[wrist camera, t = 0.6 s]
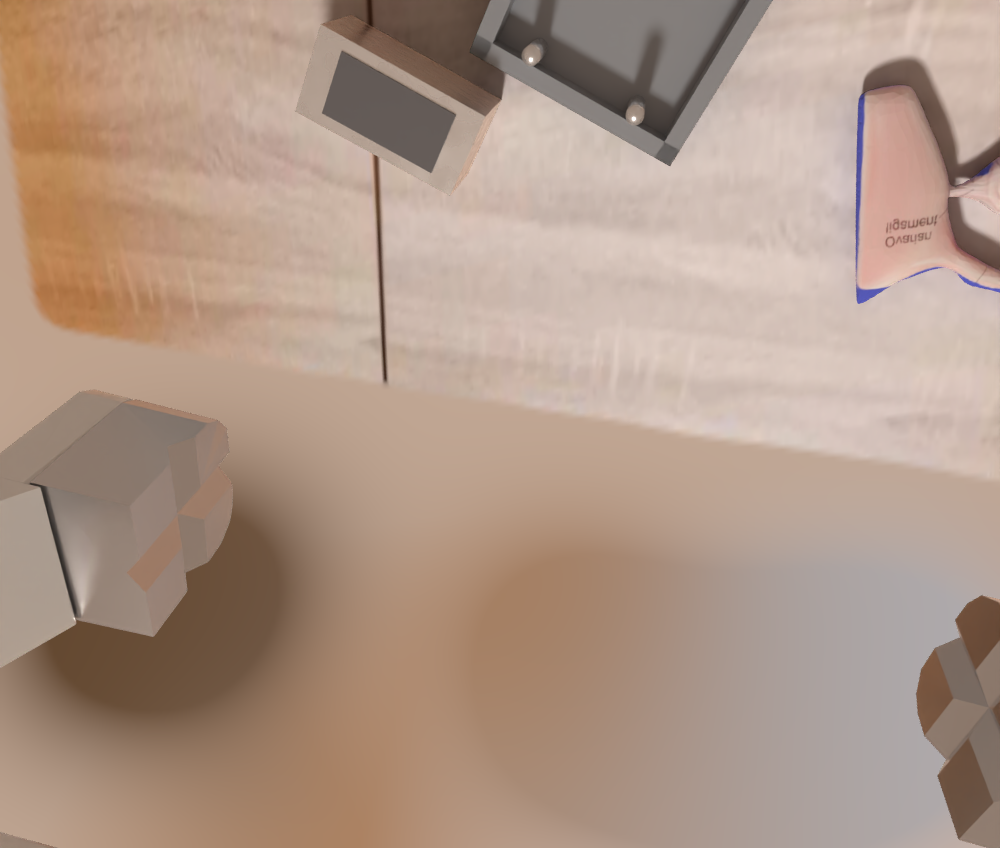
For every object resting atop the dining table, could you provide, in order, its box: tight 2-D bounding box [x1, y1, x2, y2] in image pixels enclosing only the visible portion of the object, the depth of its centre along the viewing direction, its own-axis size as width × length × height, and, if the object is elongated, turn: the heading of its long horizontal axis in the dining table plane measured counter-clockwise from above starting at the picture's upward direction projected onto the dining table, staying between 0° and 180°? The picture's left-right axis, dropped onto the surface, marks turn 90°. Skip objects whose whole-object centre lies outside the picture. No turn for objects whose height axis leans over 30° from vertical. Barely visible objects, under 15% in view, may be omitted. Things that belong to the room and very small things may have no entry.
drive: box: [296, 15, 501, 196], centre depth 44 cm, size 5×10×5 cm, turn 65°
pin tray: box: [469, 0, 773, 166], centre depth 40 cm, size 11×13×4 cm
